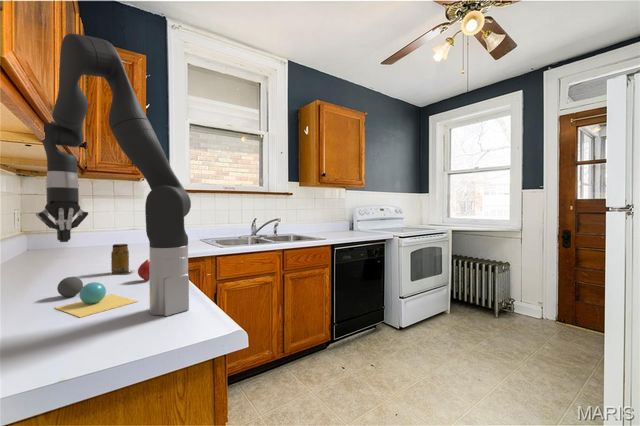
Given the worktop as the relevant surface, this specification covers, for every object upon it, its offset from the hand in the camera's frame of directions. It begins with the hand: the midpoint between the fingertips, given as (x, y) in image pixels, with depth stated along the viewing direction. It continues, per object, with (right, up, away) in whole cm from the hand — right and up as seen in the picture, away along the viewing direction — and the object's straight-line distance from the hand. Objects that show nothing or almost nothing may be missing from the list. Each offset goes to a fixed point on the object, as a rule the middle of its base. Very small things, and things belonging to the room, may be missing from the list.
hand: (63, 241), depth 91 cm
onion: (+16, -17, +17) cm, 29 cm away
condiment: (-2, -16, +30) cm, 34 cm away
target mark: (+18, -17, -10) cm, 27 cm away
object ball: (+16, -14, -9) cm, 23 cm away
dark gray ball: (+4, -14, -2) cm, 14 cm away
